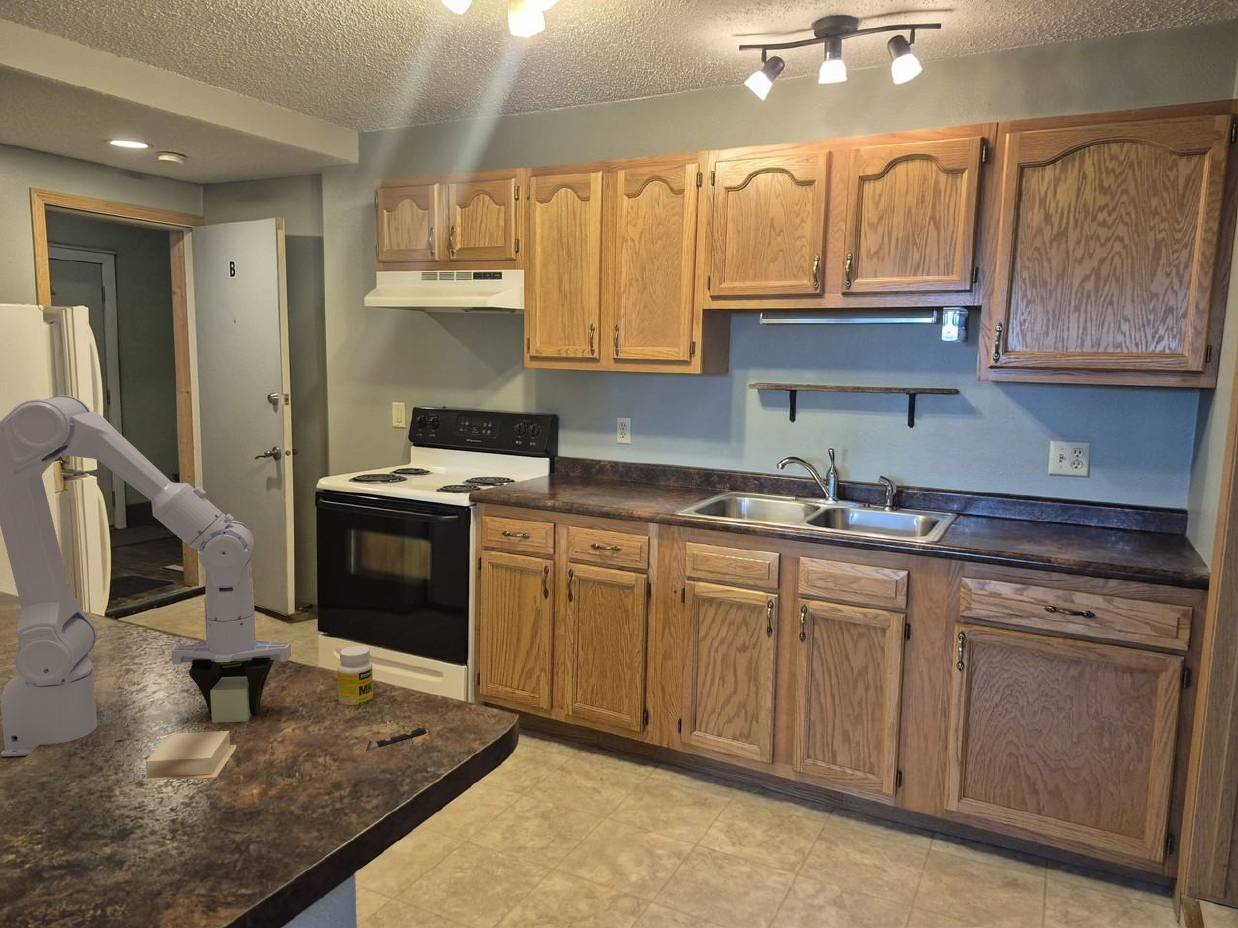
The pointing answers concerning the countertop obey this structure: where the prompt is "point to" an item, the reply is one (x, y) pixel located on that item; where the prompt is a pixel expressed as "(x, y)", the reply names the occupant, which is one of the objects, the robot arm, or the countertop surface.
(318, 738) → the countertop surface
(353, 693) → the supplement bottle
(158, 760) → the tan square tile
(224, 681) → the green block
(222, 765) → the tower base
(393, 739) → the chef's knife
